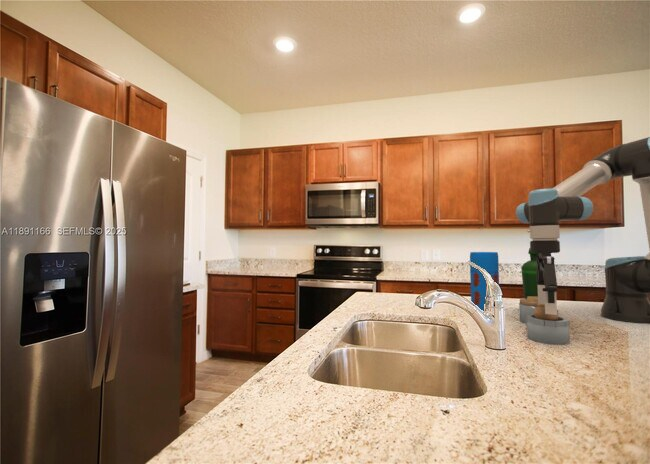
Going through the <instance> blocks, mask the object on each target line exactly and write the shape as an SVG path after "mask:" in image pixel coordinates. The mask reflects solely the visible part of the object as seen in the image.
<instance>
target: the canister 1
mask: <svg viewBox="0 0 650 464" xmlns="http://www.w3.org/2000/svg"><path fill="white" fill-rule="evenodd" d="M518 305H519V306H518V307H519V309H518V310H519V313H518V314H519V322H520V323H523V324H527V319H526V315H528V314H534V308H536V307H538V296H527V298H524V297H520V298H519V302H518Z"/></svg>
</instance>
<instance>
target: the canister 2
mask: <svg viewBox="0 0 650 464" xmlns="http://www.w3.org/2000/svg"><path fill="white" fill-rule="evenodd" d="M526 319H527V323H526V338H527V339H528V340H531V341H534V342H536V343H540V344H547V345H558V346H562V345H568V344H570V342H571V341H570V320H569V318H567V317H565V316H564V317H563V316H560V315H558V321H548V320H541V319H536V318H534V314H528V315H526Z"/></svg>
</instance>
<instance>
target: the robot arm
mask: <svg viewBox="0 0 650 464" xmlns="http://www.w3.org/2000/svg"><path fill="white" fill-rule="evenodd" d="M630 176H631V178H632V179H631V180H632V181H633V182H635V183H637V184H638V185H639V191H640V197H641V203H642V210H643V211H642V212H643V216H644V224H645V230H646V237H647V243H648V249H649V252H648V254H646V255H642V256H640V255H639V256H638V255H637V256H622V257H610V258H607V259H606V260H605V262H604V263H605V265H604V266H605V267H604V273H605V274H604V277H605V294H606V295H605V298H604V300H603V303H602V305H601V309H600V316H602V317H603V318H606V319H610V320H614V321H620V322H621V321H622V322H629V323H640V324H641V323H642V324H650V300H649V294H650V136H648V137H644V138H641V139H637V140H634V141H630V142H627V143H626V142H625V143H622V144H619V145H616V146H614V147H612V148H609V149H607V150H606V151H604V152H602V153H601V154H599V155H598V156H595V157H593V158H592V159H590V160H589V161H588V162H586V163H585V164H584V165H583V167H582V169H581V170H579V171H577V172H576V173H575V174H573V175H571V176H569V177H568V178H566V179H565V180H564V181H562V182H560V183H558V184H557V185H555V186H554V187H552V188H540V189H534V190H531V191H530V192H528V201H526V202H523V203H521V204H519V205H518V206H517V207H516V209H515V210H516V211H515V215H516V217H517V220H518V221H519V222H521V223H523V224H529V225H528V226H529V229H527V233H529V238H530V239H531V240H530V241H529V248H530V251H531V252H532V253H539V255H537V279H536V281H537V283H538V284H539V285H538V304H545V314H552V315H557V310H558V305H557V303H558V302H557V301H558V300H557V291H558V290H559V288H558V282H557V281H558V280H557V273H556V267H555V260H556V259H555V256H552V254H559V253H560V252H561V245H560V243H561V242H560V240H558V239H560V222H561V221H562V222H565V221H568V222H570V221H574V222H576V221H578V222H579V221H583V220H587V219H588V218H590V217H591V216H592V215H593V212H594V204H593V202H592V201H591V199H590V198H588V197H586V196H583V195H584V194H586V193H587V192H589V191H590V190H591V189H593V188H595V187H596V186H598V185H603V184H604V185H605V184H606V183H607V182H609V181H612V180H614V179H618V178H624V177H630Z"/></svg>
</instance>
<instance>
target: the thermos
mask: <svg viewBox="0 0 650 464" xmlns="http://www.w3.org/2000/svg"><path fill="white" fill-rule="evenodd" d="M470 261H471V262H473V263H475V264H476V265H478V266H480V267H481V268H483V269H485V270H486V271H487V272H488V273H489V274H490V275H491V277H492V279H493V280H494V282H496V283H497V284H498V285H499V286H500V273H499V272H500V271H499V270H500V269H499V266H500V265H499V254H498V252H496V251H471V252H470V253H469V262H470ZM469 268H470V271H469V272H470V274H469V275H470V302H471V301H472V302H473V303H474V304H475V305H477V306H478V307H479V308H480V309H481V310H483V311H484V304H485V296H486V280H485V278H484V276H483V274H482V273H481V272H480V271H479V270H478V269H476V268H474V267H472V266H471V265H470V264H469Z"/></svg>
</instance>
